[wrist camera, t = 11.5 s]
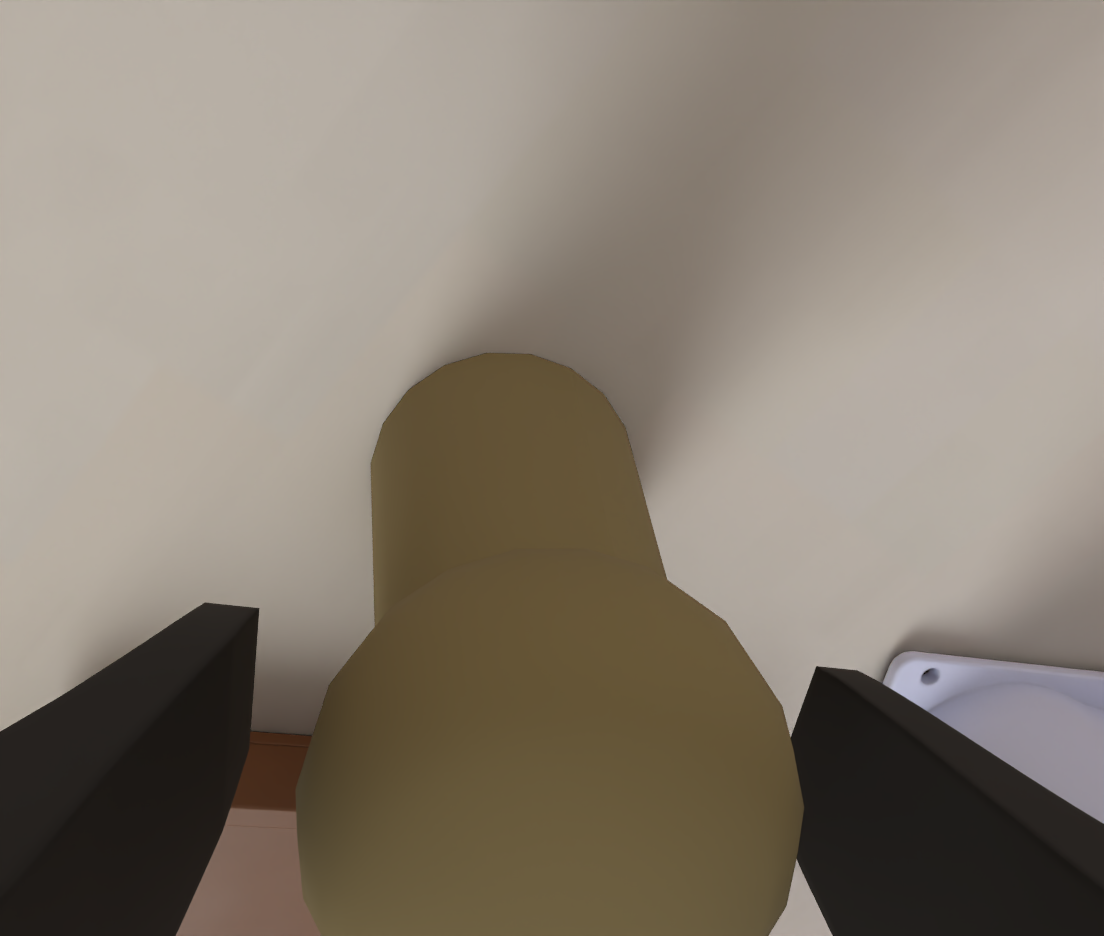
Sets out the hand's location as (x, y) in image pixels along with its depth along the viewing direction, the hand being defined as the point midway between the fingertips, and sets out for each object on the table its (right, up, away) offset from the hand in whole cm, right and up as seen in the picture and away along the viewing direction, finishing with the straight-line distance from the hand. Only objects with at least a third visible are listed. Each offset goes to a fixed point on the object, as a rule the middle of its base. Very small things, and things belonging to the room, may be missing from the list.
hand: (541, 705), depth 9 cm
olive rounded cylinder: (-1, +3, +7) cm, 8 cm away
